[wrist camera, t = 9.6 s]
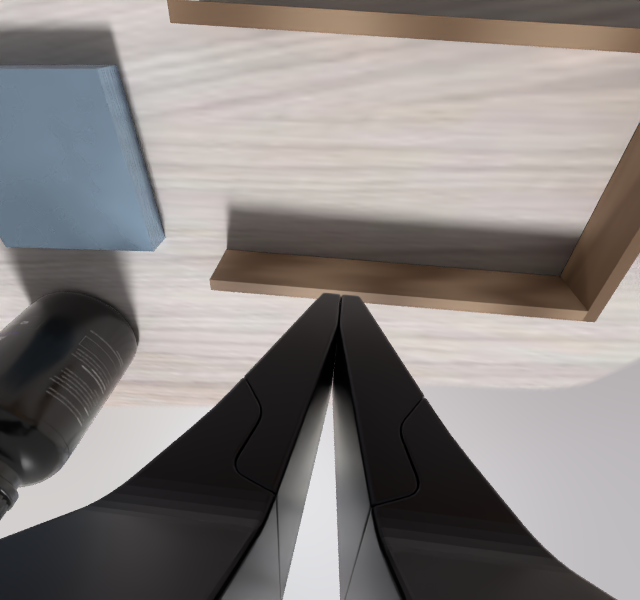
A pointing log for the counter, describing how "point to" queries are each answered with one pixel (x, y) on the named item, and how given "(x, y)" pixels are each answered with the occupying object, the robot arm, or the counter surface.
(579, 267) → the open box
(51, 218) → the cover plate
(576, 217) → the counter surface
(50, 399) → the supplement bottle
